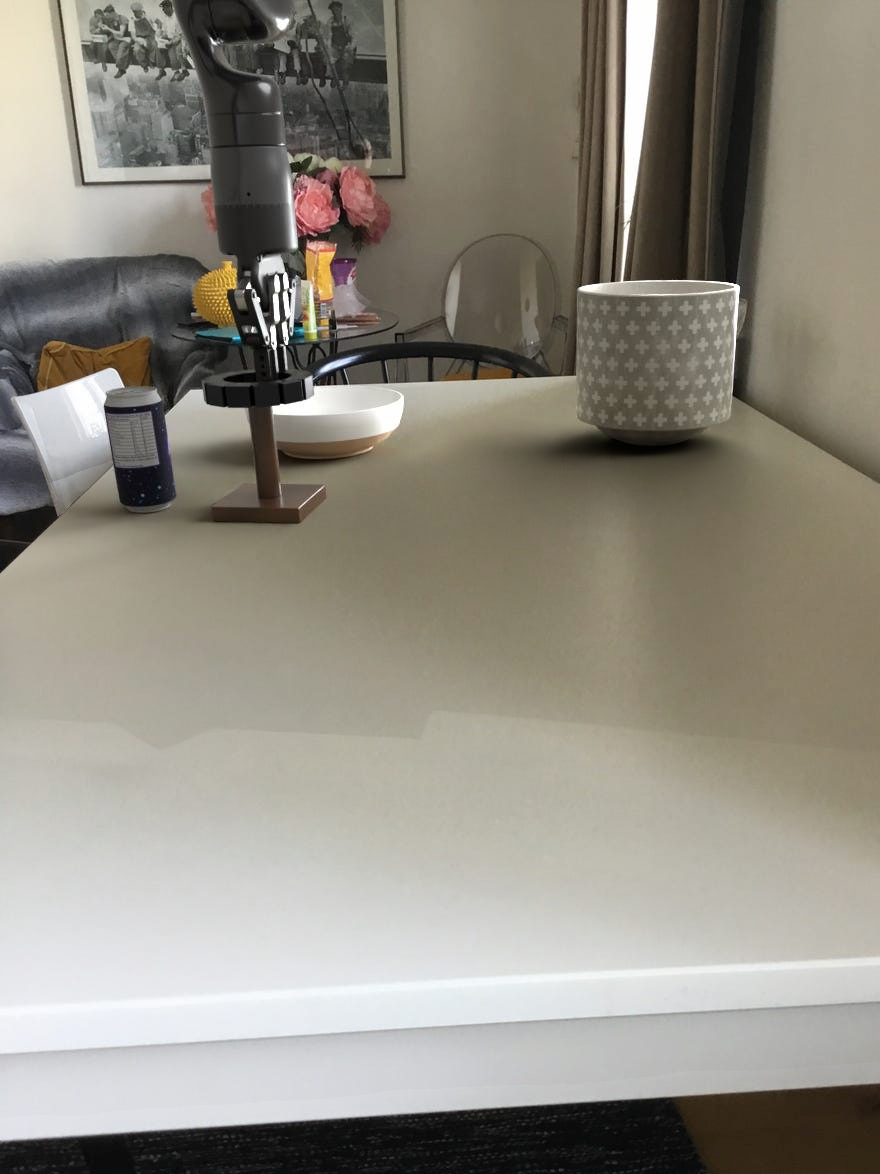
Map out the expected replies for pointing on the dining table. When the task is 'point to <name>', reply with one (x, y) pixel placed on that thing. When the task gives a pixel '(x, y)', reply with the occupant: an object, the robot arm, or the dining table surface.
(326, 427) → the bowl
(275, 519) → the stand
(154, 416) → the beverage can
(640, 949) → the dining table surface
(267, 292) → the robot arm
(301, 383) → the ring
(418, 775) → the dining table surface
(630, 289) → the planter
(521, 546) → the dining table surface
